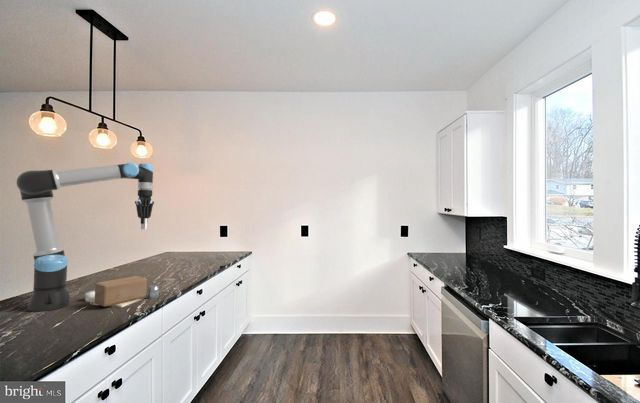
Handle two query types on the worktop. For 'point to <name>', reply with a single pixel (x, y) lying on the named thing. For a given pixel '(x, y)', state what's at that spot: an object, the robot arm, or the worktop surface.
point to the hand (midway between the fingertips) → (143, 229)
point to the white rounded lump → (90, 296)
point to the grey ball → (153, 292)
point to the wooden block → (120, 290)
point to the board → (121, 303)
